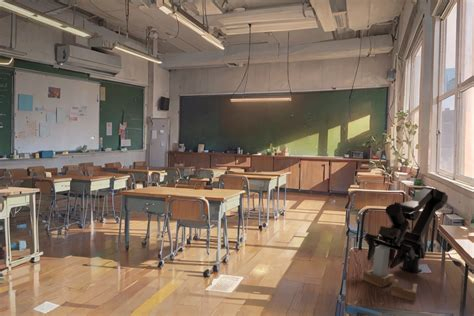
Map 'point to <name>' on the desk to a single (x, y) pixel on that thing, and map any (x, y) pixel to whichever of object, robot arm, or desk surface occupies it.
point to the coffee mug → (392, 252)
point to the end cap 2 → (403, 291)
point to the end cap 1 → (377, 278)
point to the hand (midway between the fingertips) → (378, 263)
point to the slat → (381, 261)
